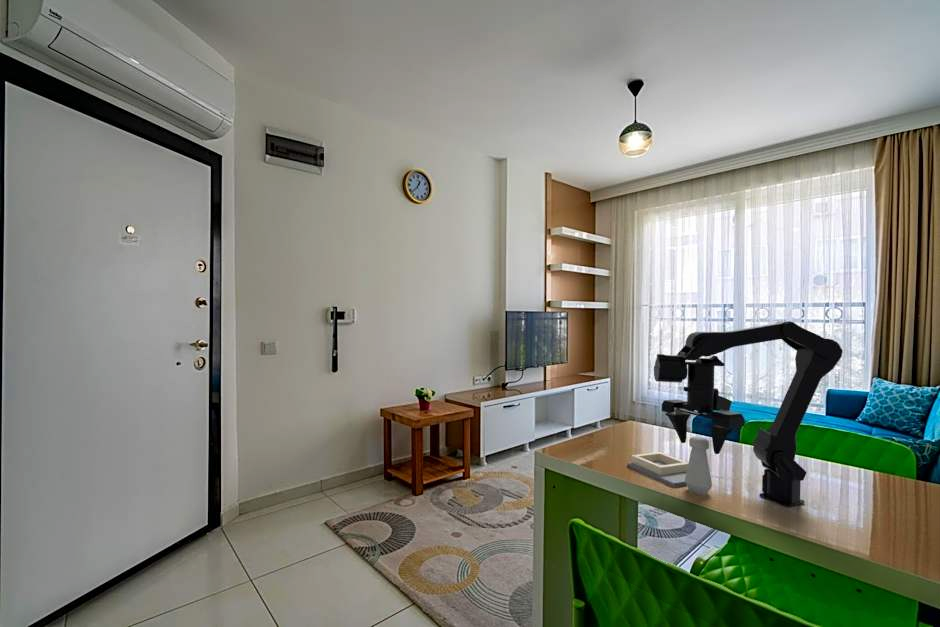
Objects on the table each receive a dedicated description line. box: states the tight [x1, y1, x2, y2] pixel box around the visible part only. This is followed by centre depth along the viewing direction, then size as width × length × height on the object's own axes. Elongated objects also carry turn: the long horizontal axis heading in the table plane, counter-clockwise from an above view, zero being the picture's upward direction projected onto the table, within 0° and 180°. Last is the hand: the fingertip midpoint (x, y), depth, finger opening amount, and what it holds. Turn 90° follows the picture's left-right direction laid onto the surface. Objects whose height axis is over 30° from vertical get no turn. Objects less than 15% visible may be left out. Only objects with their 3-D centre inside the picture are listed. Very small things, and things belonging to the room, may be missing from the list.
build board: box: [626, 451, 689, 488], centre depth 116 cm, size 16×13×3 cm
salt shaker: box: [685, 436, 713, 496], centre depth 104 cm, size 6×6×13 cm
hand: (699, 448), depth 104 cm, fingers open, 9 cm apart
